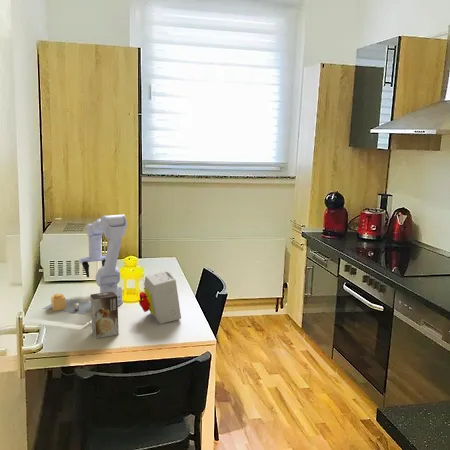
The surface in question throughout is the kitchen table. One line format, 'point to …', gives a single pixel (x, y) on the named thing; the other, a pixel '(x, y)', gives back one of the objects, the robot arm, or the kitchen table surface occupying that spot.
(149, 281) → the electrical switch box
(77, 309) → the pigtail posts
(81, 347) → the kitchen table surface
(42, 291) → the kitchen table surface
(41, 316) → the kitchen table surface
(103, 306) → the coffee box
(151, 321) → the kitchen table surface
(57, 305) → the light orange block
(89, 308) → the terminal board
